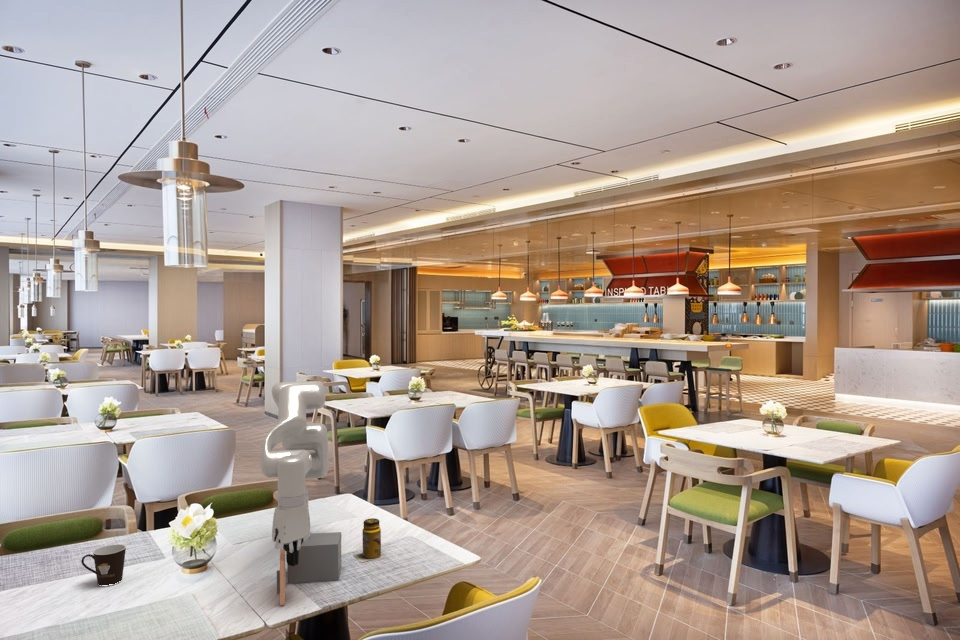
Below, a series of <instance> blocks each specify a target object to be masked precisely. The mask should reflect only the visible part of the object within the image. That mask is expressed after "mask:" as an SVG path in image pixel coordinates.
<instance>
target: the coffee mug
mask: <svg viewBox="0 0 960 640" xmlns="http://www.w3.org/2000/svg"><path fill="white" fill-rule="evenodd" d="M126 550H127V547H126V545H124V544H109V545H105V546H101V547H98V548H96V549H94V550H93V551H92V553H93V554H90V553H88V554H86V555H84V556H83V557H82V558H81V565H82V566H83V567H84V568H85V569H86V570H88V571H90V572H91V573H93V574H95V575H96V581H97V582H96V583H97V585H98V584H99V585H109V584H115V583H117V582H119V581H121V580H122V581H123V576H124V567H125V560H126V559H125V558H126V552H127V551H126ZM87 557H91V558H92V559H93V561H94V562H93V563H94V568H95V570H94V569H92V568H91V567H89V566H87V565H86V564H85V558H87ZM122 581H121V582H122Z"/></svg>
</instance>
